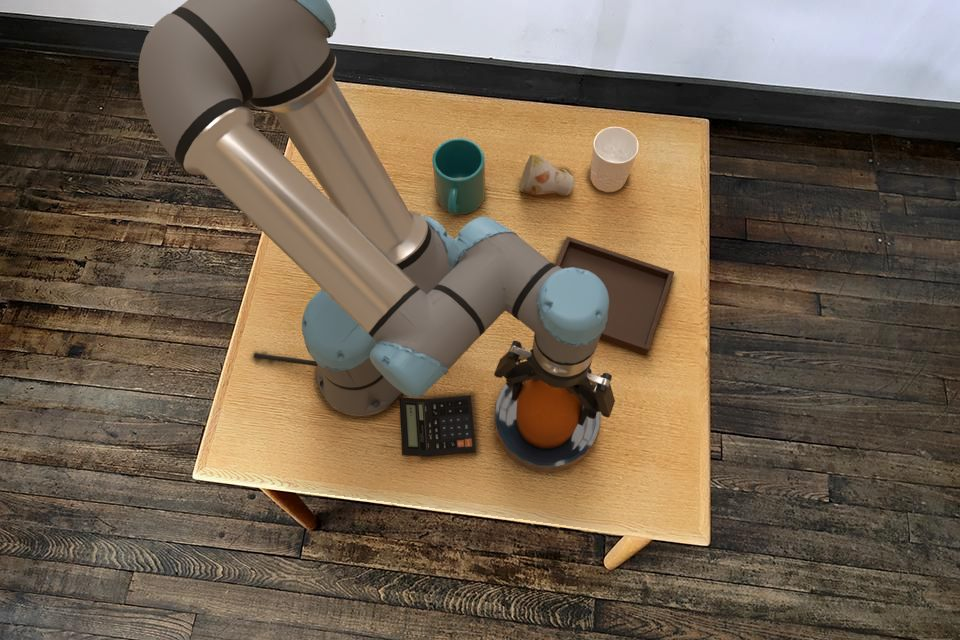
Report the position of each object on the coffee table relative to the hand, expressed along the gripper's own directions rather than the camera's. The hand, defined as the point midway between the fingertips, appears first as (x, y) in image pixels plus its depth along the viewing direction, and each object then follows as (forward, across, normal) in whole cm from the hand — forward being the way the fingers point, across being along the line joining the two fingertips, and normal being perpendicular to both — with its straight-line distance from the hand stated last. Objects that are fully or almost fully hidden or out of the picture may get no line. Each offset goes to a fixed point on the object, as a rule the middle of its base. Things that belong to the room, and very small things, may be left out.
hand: (549, 404), depth 113 cm
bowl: (+10, 0, 0) cm, 10 cm away
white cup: (+10, -5, +49) cm, 50 cm away
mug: (+10, -15, +43) cm, 47 cm away
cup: (+10, -29, +34) cm, 46 cm away
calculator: (+10, -16, -7) cm, 20 cm away
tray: (+10, +2, +25) cm, 27 cm away
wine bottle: (+10, 0, 0) cm, 10 cm away
